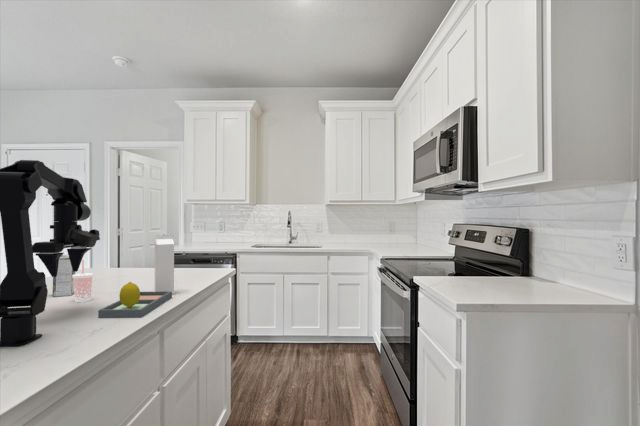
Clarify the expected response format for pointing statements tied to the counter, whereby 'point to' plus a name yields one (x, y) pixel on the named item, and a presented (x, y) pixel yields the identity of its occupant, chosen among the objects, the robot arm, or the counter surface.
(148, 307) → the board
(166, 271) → the milk
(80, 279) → the beverage cup
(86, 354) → the counter surface
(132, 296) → the lemon
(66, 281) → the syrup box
